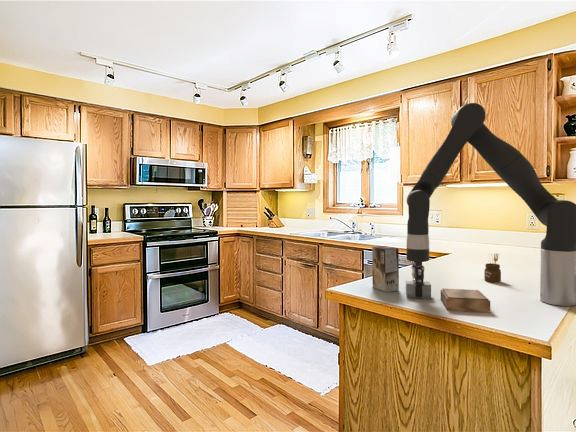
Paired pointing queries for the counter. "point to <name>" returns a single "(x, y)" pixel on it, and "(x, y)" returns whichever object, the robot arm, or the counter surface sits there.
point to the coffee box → (385, 268)
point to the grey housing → (411, 290)
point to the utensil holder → (492, 271)
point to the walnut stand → (465, 300)
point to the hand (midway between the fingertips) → (417, 294)
